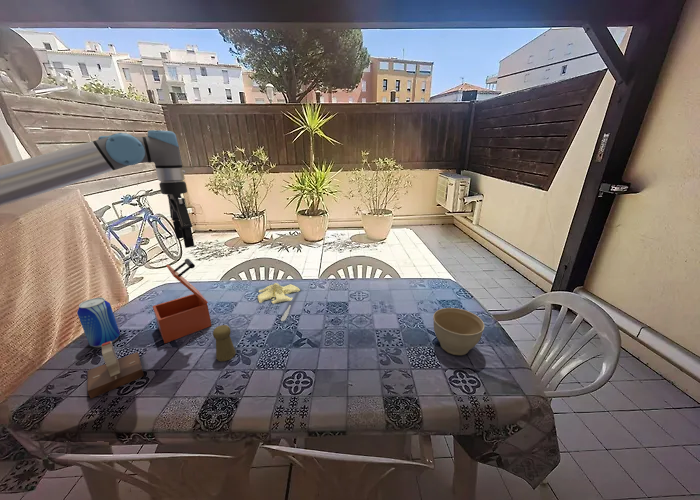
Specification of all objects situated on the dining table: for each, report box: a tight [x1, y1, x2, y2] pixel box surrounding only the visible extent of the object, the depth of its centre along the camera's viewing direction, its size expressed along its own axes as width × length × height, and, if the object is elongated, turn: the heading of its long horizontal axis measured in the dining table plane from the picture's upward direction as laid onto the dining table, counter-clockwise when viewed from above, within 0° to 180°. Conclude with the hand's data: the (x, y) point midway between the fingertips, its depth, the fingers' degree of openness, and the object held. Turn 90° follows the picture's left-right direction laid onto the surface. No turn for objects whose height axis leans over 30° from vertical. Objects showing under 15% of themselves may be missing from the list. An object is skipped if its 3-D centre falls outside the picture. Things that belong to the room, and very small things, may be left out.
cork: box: [212, 324, 237, 362], centre depth 88 cm, size 6×6×11 cm
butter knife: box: [280, 304, 291, 322], centre depth 121 cm, size 1×27×3 cm
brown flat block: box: [87, 351, 145, 399], centre depth 81 cm, size 12×10×3 cm
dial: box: [101, 341, 120, 377], centre depth 79 cm, size 6×2×8 cm, turn 42°
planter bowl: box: [432, 307, 485, 356], centre depth 93 cm, size 16×16×11 cm
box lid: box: [165, 258, 209, 305], centre depth 103 cm, size 16×13×7 cm
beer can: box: [76, 297, 121, 348], centre depth 94 cm, size 8×8×16 cm
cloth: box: [257, 282, 301, 305], centre depth 129 cm, size 22×19×6 cm
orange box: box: [152, 293, 212, 344], centre depth 103 cm, size 16×13×10 cm
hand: (185, 242), depth 97 cm, fingers open, 13 cm apart
